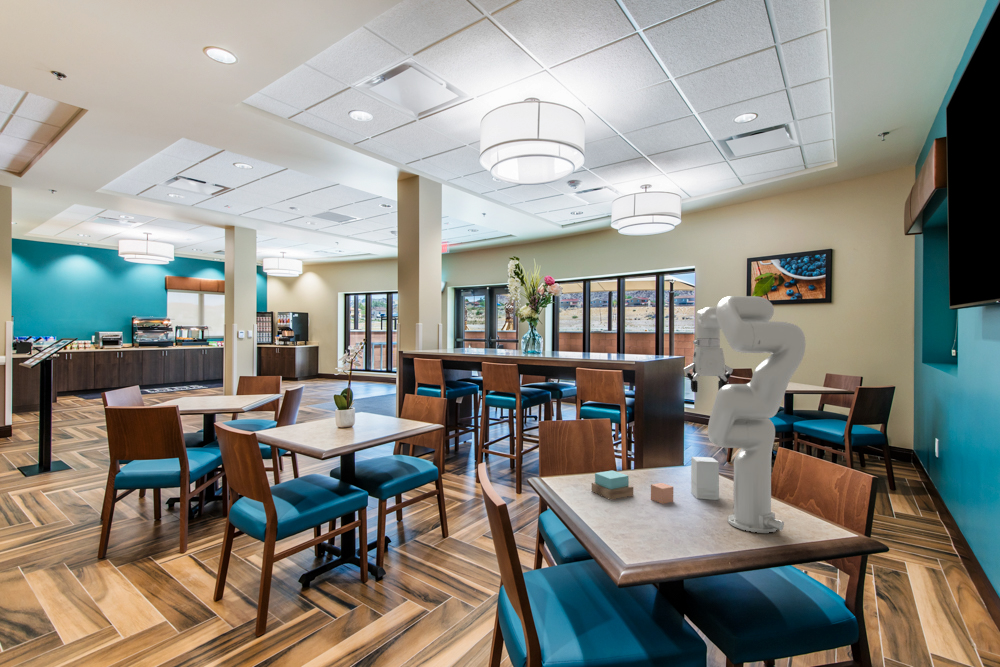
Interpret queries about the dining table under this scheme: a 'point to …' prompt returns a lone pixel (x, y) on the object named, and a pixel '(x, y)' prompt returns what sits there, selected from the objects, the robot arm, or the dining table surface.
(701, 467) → the supplement box
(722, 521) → the dining table surface
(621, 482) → the teal top slab
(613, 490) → the walnut base slab
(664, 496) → the salmon orange cube
